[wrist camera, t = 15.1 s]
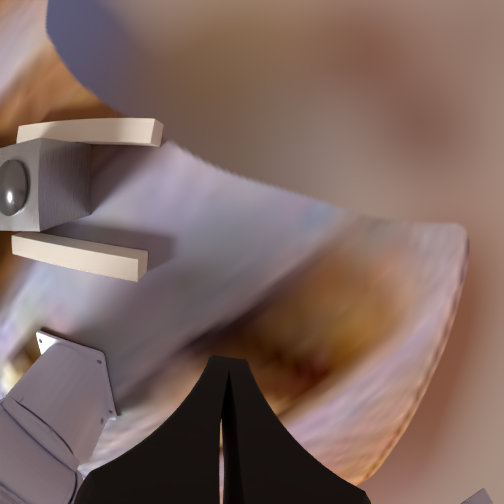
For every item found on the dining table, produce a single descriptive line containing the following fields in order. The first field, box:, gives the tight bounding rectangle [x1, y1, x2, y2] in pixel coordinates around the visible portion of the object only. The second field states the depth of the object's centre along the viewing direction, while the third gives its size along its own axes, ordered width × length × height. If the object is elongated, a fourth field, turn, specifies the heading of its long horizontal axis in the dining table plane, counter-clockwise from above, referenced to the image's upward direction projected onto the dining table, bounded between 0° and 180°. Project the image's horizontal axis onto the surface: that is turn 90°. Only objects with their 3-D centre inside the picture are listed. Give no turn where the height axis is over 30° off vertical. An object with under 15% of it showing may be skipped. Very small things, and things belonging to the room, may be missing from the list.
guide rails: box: [11, 118, 164, 282], centre depth 15 cm, size 10×12×2 cm
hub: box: [0, 138, 92, 231], centre depth 13 cm, size 5×5×6 cm
